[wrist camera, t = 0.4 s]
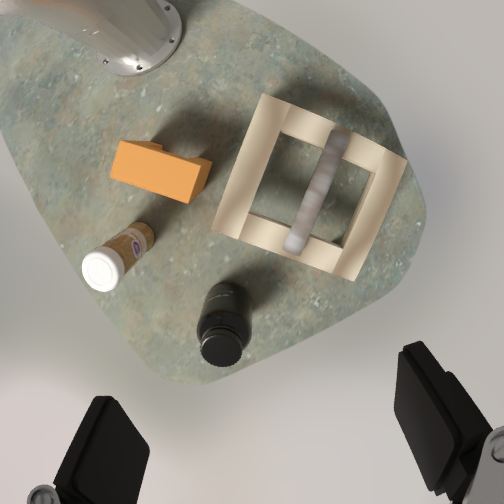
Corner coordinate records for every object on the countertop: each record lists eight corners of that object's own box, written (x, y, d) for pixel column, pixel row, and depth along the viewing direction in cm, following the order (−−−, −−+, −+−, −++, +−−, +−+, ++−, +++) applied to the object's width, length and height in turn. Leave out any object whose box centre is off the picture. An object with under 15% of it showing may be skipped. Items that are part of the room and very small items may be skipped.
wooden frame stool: (219, 212, 41) (208, 234, 30) (259, 105, 36) (263, 89, 26) (334, 255, 43) (359, 288, 32) (377, 157, 38) (416, 161, 28)
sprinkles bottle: (160, 243, 42) (126, 282, 29) (136, 257, 43) (96, 299, 30) (144, 214, 41) (102, 243, 28) (119, 230, 42) (73, 263, 29)
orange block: (140, 169, 39) (109, 177, 29) (149, 141, 38) (120, 140, 28) (202, 190, 40) (187, 204, 30) (212, 161, 39) (200, 165, 29)
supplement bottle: (221, 271, 44) (212, 315, 32) (261, 297, 45) (264, 346, 34) (196, 306, 45) (181, 355, 34) (234, 329, 47) (230, 382, 35)
